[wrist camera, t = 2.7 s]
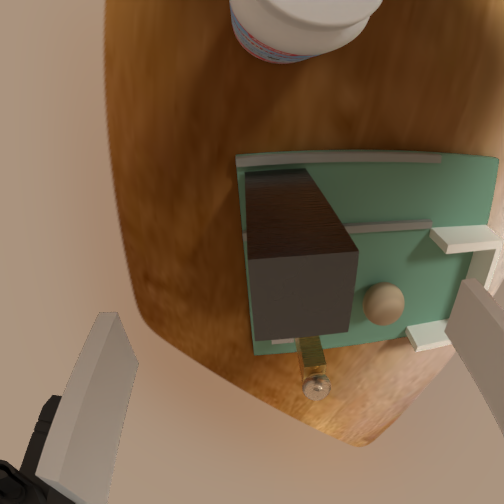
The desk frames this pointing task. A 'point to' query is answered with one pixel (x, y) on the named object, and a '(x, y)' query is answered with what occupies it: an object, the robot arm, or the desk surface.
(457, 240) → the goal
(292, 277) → the block
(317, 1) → the pill bottle
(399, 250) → the board
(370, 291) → the ball
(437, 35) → the desk surface
